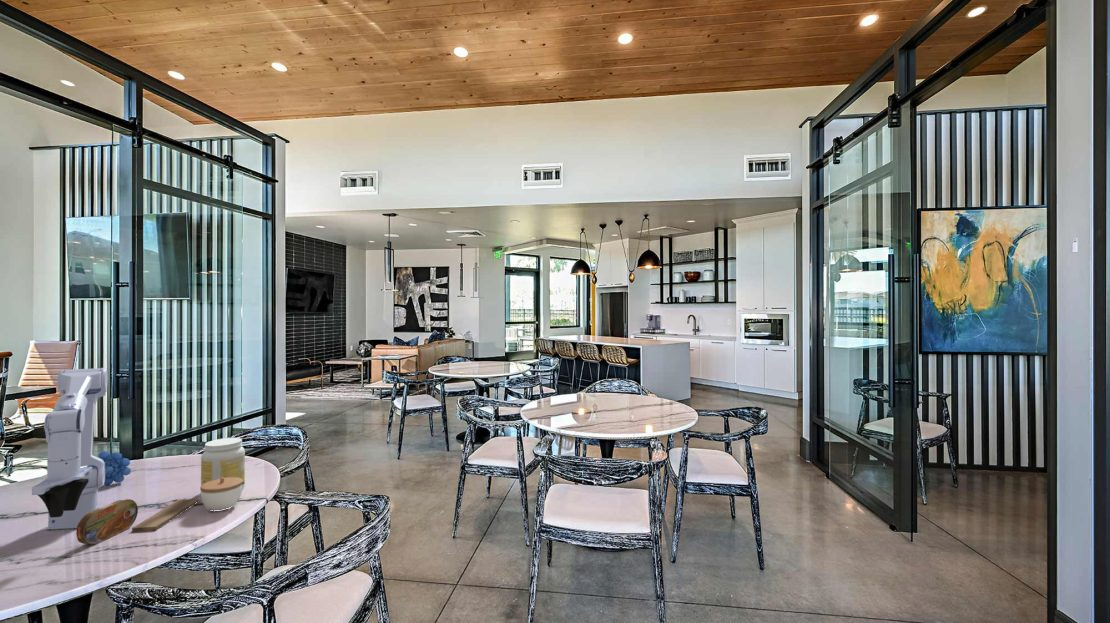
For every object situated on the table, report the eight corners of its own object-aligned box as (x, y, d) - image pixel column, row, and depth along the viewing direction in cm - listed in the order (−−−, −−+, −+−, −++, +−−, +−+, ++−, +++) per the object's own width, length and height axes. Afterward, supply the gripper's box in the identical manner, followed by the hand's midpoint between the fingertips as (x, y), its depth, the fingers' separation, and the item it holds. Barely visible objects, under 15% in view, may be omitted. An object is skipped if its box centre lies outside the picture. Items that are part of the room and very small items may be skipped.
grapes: (82, 492, 157) (82, 456, 157) (86, 486, 162) (87, 451, 162) (128, 485, 164) (129, 450, 164) (131, 479, 169) (132, 446, 169)
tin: (84, 550, 119) (85, 517, 119) (72, 550, 119) (73, 516, 119) (138, 524, 134) (139, 494, 134) (128, 524, 134) (128, 494, 134)
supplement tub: (248, 483, 167) (249, 435, 167) (239, 495, 155) (240, 444, 156) (207, 487, 162) (208, 438, 162) (194, 500, 151) (195, 448, 151)
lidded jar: (193, 517, 138) (193, 485, 139) (209, 503, 149) (209, 473, 149) (234, 513, 141) (235, 482, 141) (247, 499, 152) (248, 470, 152)
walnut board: (132, 531, 129) (132, 527, 129) (178, 503, 149) (178, 499, 149) (156, 530, 130) (156, 526, 130) (199, 502, 149) (199, 498, 149)
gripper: (56, 467, 110) (55, 525, 109) (105, 449, 124) (104, 501, 124) (21, 468, 108) (20, 527, 108) (75, 450, 123) (74, 502, 123)
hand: (63, 513), depth 116 cm, fingers open, 3 cm apart
